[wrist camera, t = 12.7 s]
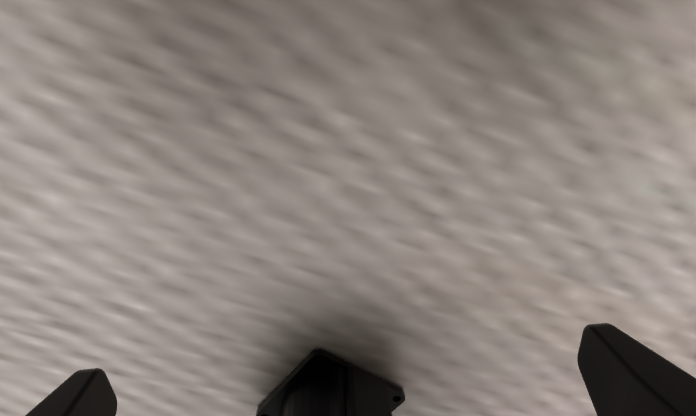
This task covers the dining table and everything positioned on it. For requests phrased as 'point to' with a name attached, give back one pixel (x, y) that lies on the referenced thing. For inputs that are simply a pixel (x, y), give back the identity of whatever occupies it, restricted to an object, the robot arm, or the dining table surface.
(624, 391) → the robot arm
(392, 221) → the dining table surface
